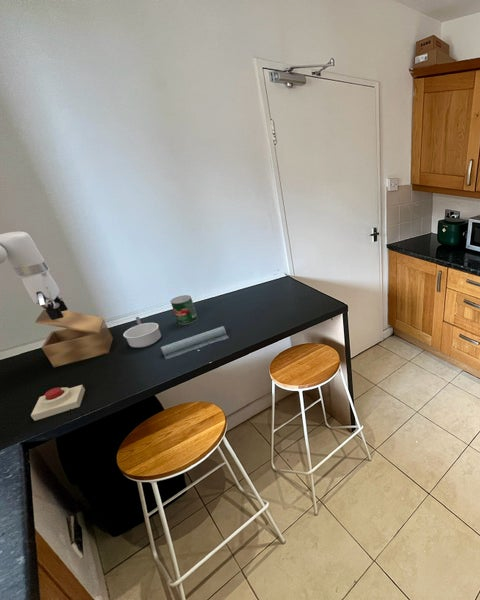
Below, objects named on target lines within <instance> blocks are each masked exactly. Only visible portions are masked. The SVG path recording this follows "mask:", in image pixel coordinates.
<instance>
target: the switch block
mask: <svg viewBox="0 0 480 600" xmlns="http://www.w3.org/2000/svg"><path fill="white" fill-rule="evenodd" d="M60 388H61V389H62V391H63V392H64V393H63V394H62V395H61V396H59V397H57V398H55V399H52V400H48V399H47V398H46V396H45V394H44V395H42V396H39V397H38V400H37V402H36V404H35V406H34V408H33V410H32V412H31V414H30V417H31V418H32V420H33V421H38V420H42V419H45V418H48V417H51V416H55V415H57V414H61V413H64V412H67V411H71V410H74V409H76V408H77V409H78V408H80V407H81V405H82V401H83V397H84V395H85V391H86V389H85V387H84V385H83V384H80V385H76V386H73V387H70V388H69V387H67V386H66V387H60ZM70 409H71V410H70Z"/></svg>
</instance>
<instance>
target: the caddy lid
mask: <svg viewBox="0 0 480 600" xmlns="http://www.w3.org/2000/svg"><path fill="white" fill-rule="evenodd" d="M55 305H56V307H59V306H60V304H59V303H57V302H55ZM61 313H62V314H63V316H64V317H63V318H59V319H55V320H51V318H50V317H49V315H48V314H47V312H46V311H45V310H44V309H42V311H41V312H40V314H39V315H38V316H37V318H36V319H35V321H34V324H40V325H46V326H52V327H57V328H61V329H65V328H68V329H73V330H79V331H84V332H90V333H96V334H98V333H99V330H100V328H101V325H102V322H103V320H105V318H104V317H100V316H95V315H91V314H86V313H81V312H76V311H71V310H66V311H62V312H61Z"/></svg>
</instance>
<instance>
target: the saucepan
mask: <svg viewBox="0 0 480 600" xmlns="http://www.w3.org/2000/svg"><path fill="white" fill-rule="evenodd" d="M135 320H136V324H137V325H133V326H132V327H130V328H128V329H127V330H125V331H124V333H123V337H124V338H125V339H126V342H127V343H128V345H129V346H130V347H131V348H145V347H149V346H151V345H153V344H155V343H157V342H158V341H159V340H160V339H161V337H162V334H161V331H160V328H159V323H156V322H145V323H142V321H141V319H140V317H139V316H136V317H135Z"/></svg>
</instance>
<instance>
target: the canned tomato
mask: <svg viewBox="0 0 480 600" xmlns="http://www.w3.org/2000/svg"><path fill="white" fill-rule="evenodd" d="M169 302H170V304H171V306H172V307H171V308H172V310H173V312H174V316H175V318H176V320H177V323H178V325H182V326H185V325H190V324H193V323H195V322H196V321H198V319H199V316H198V314H197V311H196V307H195V304H194V302H193V299H192V295H185V294H184V295H179V296H176V297H173V298H172V299H171V300H170V301H169Z"/></svg>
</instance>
